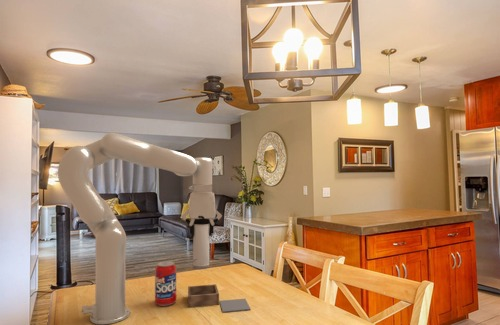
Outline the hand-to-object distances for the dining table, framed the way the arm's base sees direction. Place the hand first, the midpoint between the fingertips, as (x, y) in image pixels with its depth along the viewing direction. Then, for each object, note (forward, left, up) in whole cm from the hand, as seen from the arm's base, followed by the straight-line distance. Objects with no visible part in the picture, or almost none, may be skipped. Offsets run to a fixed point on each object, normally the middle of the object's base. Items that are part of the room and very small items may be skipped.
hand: (201, 235), depth 127 cm
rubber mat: (+11, -8, -25) cm, 29 cm away
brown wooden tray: (0, 0, -25) cm, 25 cm away
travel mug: (0, 0, -12) cm, 12 cm away
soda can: (-14, +1, -25) cm, 29 cm away
